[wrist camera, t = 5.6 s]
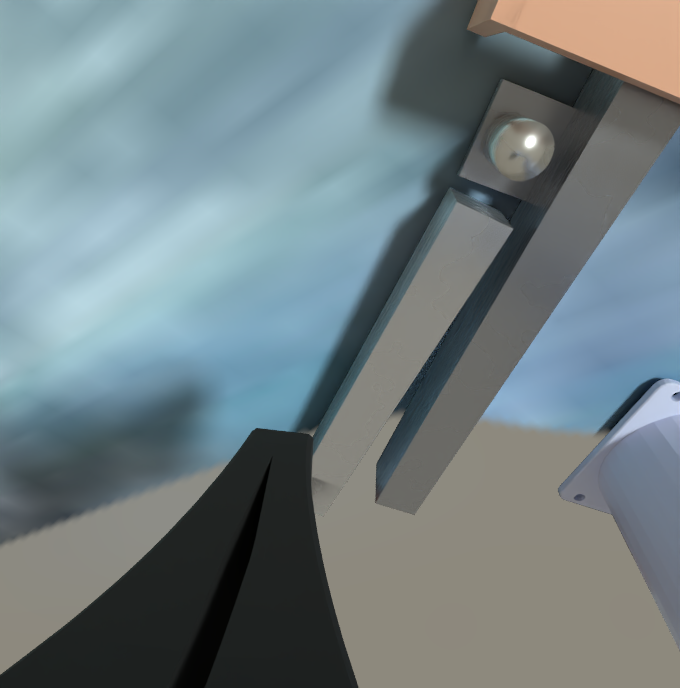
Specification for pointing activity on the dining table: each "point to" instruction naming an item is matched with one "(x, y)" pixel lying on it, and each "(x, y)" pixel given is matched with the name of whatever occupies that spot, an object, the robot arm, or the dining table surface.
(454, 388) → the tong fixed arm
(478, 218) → the tong jaw
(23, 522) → the dining table surface
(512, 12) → the sleeve
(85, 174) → the dining table surface
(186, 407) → the dining table surface
